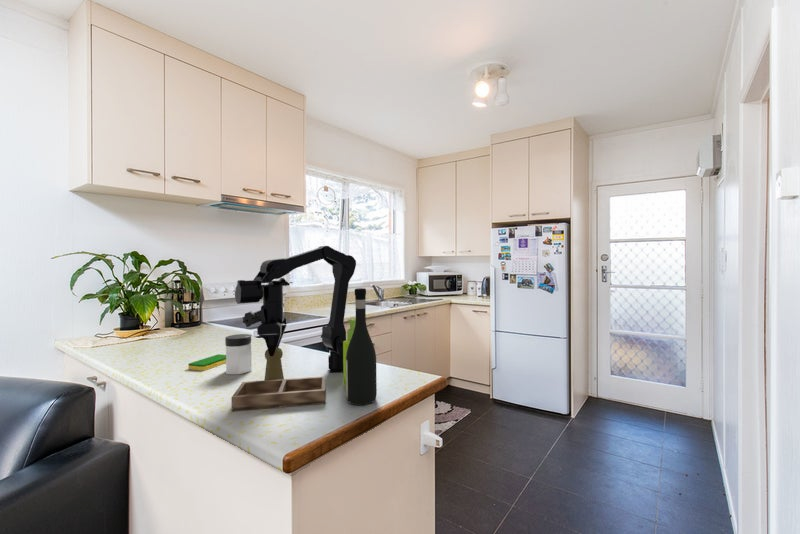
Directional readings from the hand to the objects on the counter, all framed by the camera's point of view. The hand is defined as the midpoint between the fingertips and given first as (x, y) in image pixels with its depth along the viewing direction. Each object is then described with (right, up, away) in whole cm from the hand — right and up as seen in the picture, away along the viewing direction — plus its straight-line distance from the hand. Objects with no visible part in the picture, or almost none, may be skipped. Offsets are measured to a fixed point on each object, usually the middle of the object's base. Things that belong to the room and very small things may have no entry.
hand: (274, 352), depth 112 cm
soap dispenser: (+25, -10, 0) cm, 26 cm away
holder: (+6, -10, -12) cm, 17 cm away
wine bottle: (+28, -10, -14) cm, 33 cm away
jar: (-17, -10, +14) cm, 24 cm away
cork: (0, -10, 0) cm, 10 cm away
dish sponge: (-31, -10, +23) cm, 40 cm away
